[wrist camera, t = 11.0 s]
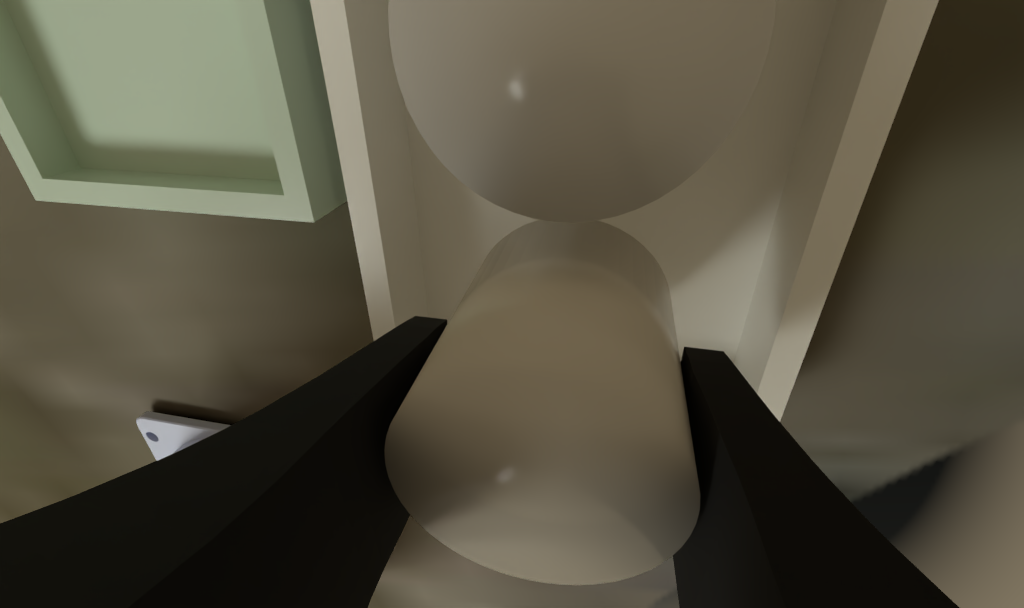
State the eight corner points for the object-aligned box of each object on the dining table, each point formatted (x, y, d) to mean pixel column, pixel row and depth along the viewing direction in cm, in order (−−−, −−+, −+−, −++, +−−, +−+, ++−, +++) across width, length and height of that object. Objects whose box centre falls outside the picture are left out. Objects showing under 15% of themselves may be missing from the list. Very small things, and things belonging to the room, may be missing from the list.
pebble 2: (665, 390, 11) (685, 603, 7) (486, 380, 11) (416, 563, 8) (678, 213, 9) (720, 376, 5) (461, 218, 9) (349, 358, 6)
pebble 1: (701, 135, 9) (746, 217, 6) (501, 147, 10) (426, 226, 7) (724, -136, 7) (817, -283, 4) (474, -90, 8) (345, -172, 5)
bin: (738, 403, 13) (758, 478, 11) (423, 362, 15) (388, 420, 13) (934, -229, 7) (1065, -334, 5) (354, -179, 9) (264, -240, 6)
